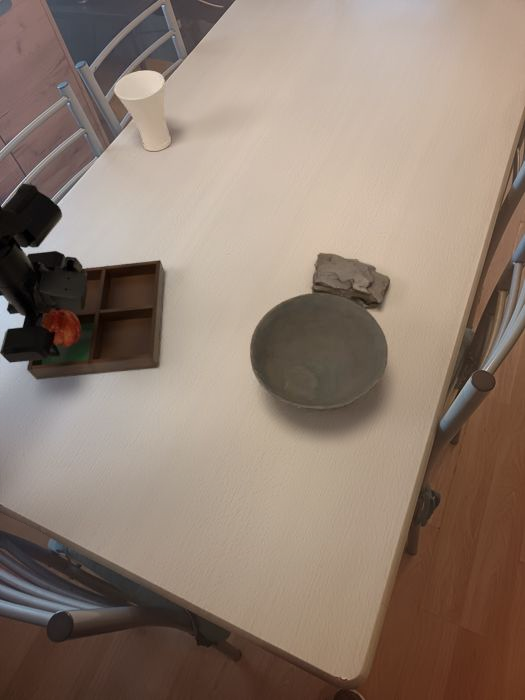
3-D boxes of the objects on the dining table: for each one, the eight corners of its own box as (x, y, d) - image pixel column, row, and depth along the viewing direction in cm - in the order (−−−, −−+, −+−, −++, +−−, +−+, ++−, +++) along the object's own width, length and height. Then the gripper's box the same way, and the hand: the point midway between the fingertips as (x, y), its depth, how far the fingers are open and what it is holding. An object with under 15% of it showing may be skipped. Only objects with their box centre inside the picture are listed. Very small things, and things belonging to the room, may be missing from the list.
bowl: (233, 375, 79) (223, 341, 70) (323, 311, 84) (323, 272, 75) (310, 464, 70) (309, 436, 62) (405, 386, 75) (417, 351, 67)
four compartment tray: (36, 379, 82) (26, 369, 79) (57, 283, 93) (49, 272, 90) (158, 367, 81) (153, 357, 78) (164, 271, 92) (160, 260, 89)
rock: (393, 274, 87) (396, 258, 83) (379, 314, 82) (381, 299, 79) (319, 256, 90) (319, 240, 87) (301, 294, 86) (300, 279, 83)
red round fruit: (79, 368, 82) (98, 312, 80) (39, 368, 75) (59, 307, 73) (53, 350, 85) (71, 295, 83) (13, 348, 79) (31, 289, 77)
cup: (166, 160, 109) (149, 102, 98) (126, 153, 112) (104, 95, 101) (187, 132, 114) (173, 73, 103) (148, 125, 117) (130, 67, 106)
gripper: (57, 320, 62) (102, 381, 75) (78, 217, 72) (115, 286, 86) (-29, 329, 63) (31, 387, 76) (4, 225, 73) (52, 292, 86)
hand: (60, 335), depth 81 cm, fingers closed on red round fruit, 7 cm apart
